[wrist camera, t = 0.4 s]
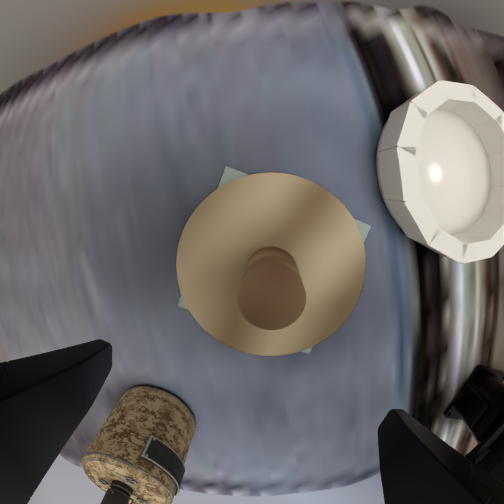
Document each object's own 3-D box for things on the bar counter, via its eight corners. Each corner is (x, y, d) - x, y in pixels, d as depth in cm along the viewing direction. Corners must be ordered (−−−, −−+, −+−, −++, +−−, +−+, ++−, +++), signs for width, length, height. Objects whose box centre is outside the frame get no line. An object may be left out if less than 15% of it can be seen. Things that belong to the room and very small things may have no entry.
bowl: (502, 146, 16) (533, 143, 12) (465, 269, 18) (495, 284, 14) (398, 70, 16) (423, 49, 12) (350, 210, 18) (370, 216, 14)
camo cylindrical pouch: (139, 435, 24) (85, 545, 9) (111, 381, 23) (27, 498, 8) (207, 440, 23) (173, 572, 9) (185, 384, 22) (122, 540, 7)
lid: (388, 218, 18) (429, 230, 12) (314, 367, 20) (325, 417, 15) (217, 146, 17) (195, 130, 12) (161, 311, 20) (130, 350, 15)
